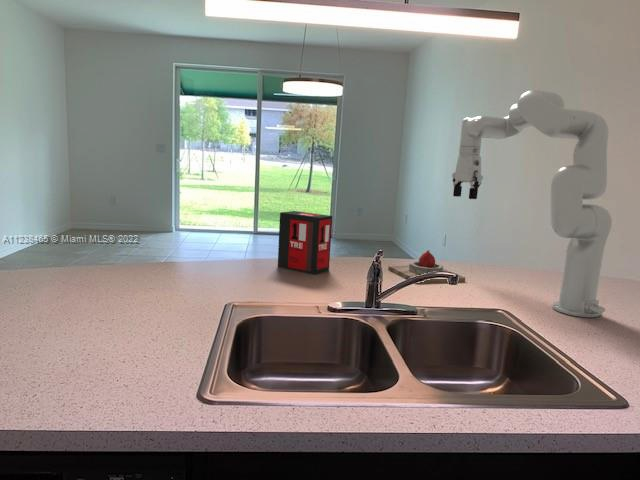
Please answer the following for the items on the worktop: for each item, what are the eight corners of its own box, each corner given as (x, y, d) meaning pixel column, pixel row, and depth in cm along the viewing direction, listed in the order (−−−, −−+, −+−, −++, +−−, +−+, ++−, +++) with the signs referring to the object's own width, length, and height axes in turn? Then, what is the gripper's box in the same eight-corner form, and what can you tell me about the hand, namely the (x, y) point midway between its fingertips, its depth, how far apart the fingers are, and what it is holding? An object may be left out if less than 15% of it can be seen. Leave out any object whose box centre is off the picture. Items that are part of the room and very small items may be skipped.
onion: (414, 270, 185) (416, 248, 183) (427, 269, 187) (429, 248, 186) (424, 273, 179) (426, 251, 178) (437, 273, 182) (439, 251, 180)
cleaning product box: (277, 267, 183) (280, 212, 180) (291, 263, 191) (294, 210, 187) (315, 274, 175) (319, 217, 171) (328, 270, 182) (332, 215, 179)
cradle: (464, 281, 178) (466, 270, 177) (415, 283, 171) (416, 272, 170) (433, 268, 196) (434, 258, 195) (388, 269, 189) (389, 259, 188)
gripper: (493, 152, 181) (487, 200, 183) (463, 152, 196) (459, 195, 199) (475, 151, 178) (470, 199, 181) (447, 150, 194) (443, 195, 197)
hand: (464, 197), depth 190 cm, fingers open, 9 cm apart
